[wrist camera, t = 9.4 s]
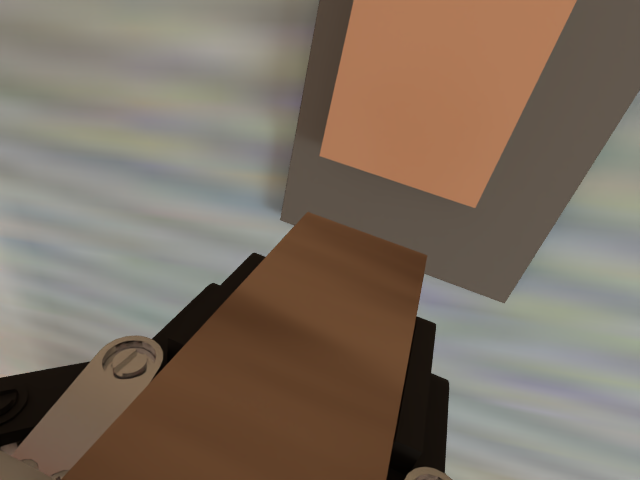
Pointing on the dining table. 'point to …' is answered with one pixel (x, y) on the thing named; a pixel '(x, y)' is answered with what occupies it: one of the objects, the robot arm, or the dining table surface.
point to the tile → (437, 88)
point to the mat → (511, 170)
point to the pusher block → (281, 372)
